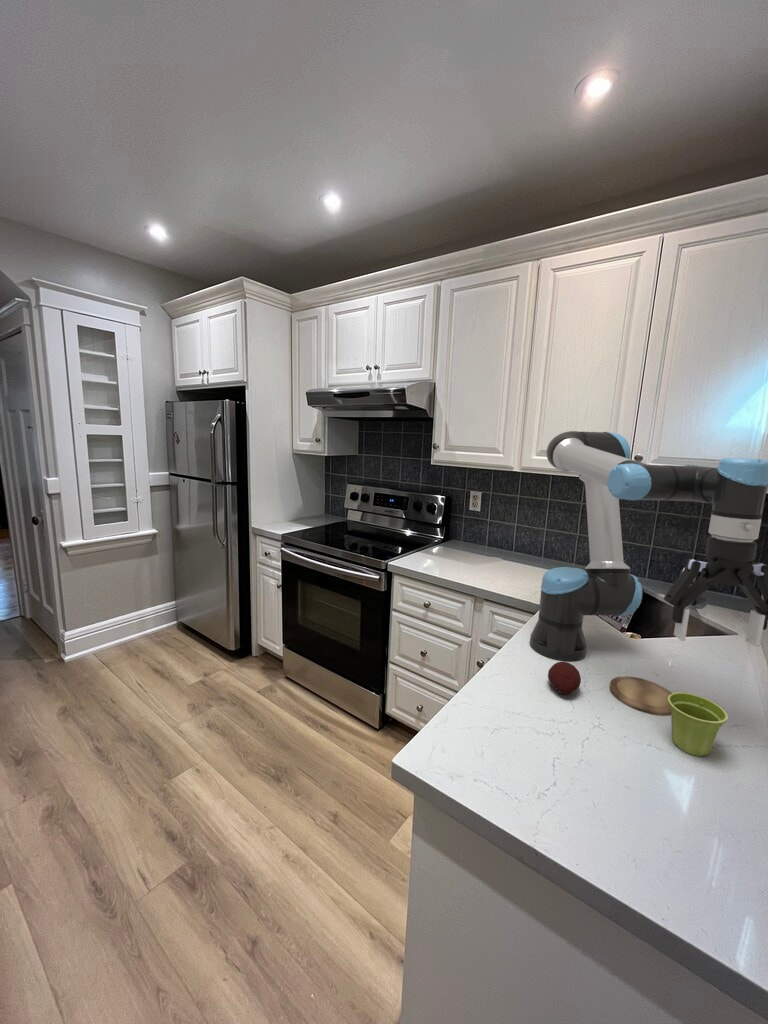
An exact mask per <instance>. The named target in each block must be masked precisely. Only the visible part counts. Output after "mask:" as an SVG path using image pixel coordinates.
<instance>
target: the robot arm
mask: <svg viewBox="0 0 768 1024" xmlns="http://www.w3.org/2000/svg"><path fill="white" fill-rule="evenodd" d="M548 443H549V444H548V445H547V448H546V458H547V461H548V463H549V464H550V465H551V466H552V467H553V468H556V470H560V471H561V472H566V473H567V472H568V473H569V472H572V473H575V474H578V478H579V480H580V481H582V482H583V483H584V488H585V500H586V515H587V517H586V518H587V532H588V533H587V534H588V547H589V548H588V549H589V563H588V564H587V566H585V569H582V568H579V567H569V566H562V567H561V566H559V567H553V568H550V569H548V570H546V571H545V572H544V574H543V577H542V580H541V584H540V599H539V600H540V601H539V610H538V619H537V622H536V624H535V625H534V627H533V630H532V631H531V633H530V638H529V645H530V648H532V649H533V651H535V652H537V653H538V654H539V655H542V656H544V657H547V658H548V659H549V658H550V659H553V660H558V661H562V662H575V661H576V662H577V661H580V660H583V659H584V658H585V657H586V655H587V642H586V638H585V634H584V629H583V622H584V621H583V620H584V617H585V616H612V617H620V616H628V615H631V614H634V613H635V612H636V611H637V609H639V607H640V605H641V603H642V600H643V588H642V583H641V582H639V581H640V580H639V578H638V577H637V576H636V575H634V574H631V573H632V572H631V567H630V566H629V565H627V564H626V563H625V562H624V551H623V549H624V548H623V539H622V538H623V537H622V524H621V512H620V500H626V501H668V502H669V501H670V502H671V501H674V502H675V501H676V502H677V501H678V502H695V503H697V502H699V503H703V504H704V503H705V504H710V505H712V509H711V515H710V521H709V527H708V533H709V537H707V540H706V545H705V546H706V547H705V559H704V561H700V560H695V559H693V558H688V559H686V563H685V568H684V569H683V570H682V572H681V573H680V575H679V576H678V578H677V579H676V580H675V582H674V583H673V584H672V585H671V587H670V588H669V590H668V592H666V593H665V595H664V597H663V599H664V601H665V602H667V603H669V604H670V605H671V606H673V609H672V616H671V619H672V621H673V622H674V623H675V624H674V632H673V636H675V637H676V638H677V639H678V640H680V642H685V641H686V637H687V631H688V623H689V619H690V618H689V617H690V609H689V608H687V607H688V606H689V605H690V604H692V603H693V602H694V601H695V600H697V598H699V597H701V595H702V594H703V593H704V592H705V593H706V591H707V590H709V588H712V587H715V586H716V585H719V586H727V585H729V586H732V587H739V589H740V590H741V591H742V592H743V594H744V595H745V596H746V598H747V599H748V601H750V603H751V604H752V605H753V607H754V608H755V610H754V609H751V610H750V613H749V619H748V625H747V629H746V630H747V631H746V636H745V642H747V643H749V644H750V645H752V646H754V647H755V648H760V647H761V641H762V636H763V632H764V631H765V630H767V629H768V565H767V564H764V563H761V562H756V563H755V564H753V562H754V561H755V559H756V554H757V548H758V543H757V541H755V540H759V534H760V529H761V524H762V518H763V511H764V506H765V500H766V495H767V491H768V460H767V459H764V458H743V457H742V458H741V457H739V458H738V457H737V458H736V457H723V458H721V459H720V461H719V463H718V466H714V467H713V466H703V465H694V464H691V465H690V464H685V465H675V464H674V465H670V464H669V465H667V464H664V465H663V464H662V465H661V464H660V465H659V464H649V463H648V464H647V463H643V462H639V461H637V460H634V459H631V453H632V451H631V446H630V444H629V442H628V440H627V439H626V437H624V435H623V436H622V435H621V434H620V433H615V432H608V431H602V432H601V431H576V430H572V431H570V430H569V431H565V432H561V433H559V434H558V435H555V436H554V437H553V438H552V440H550V442H548ZM703 570H704V572H702V571H703ZM700 572H702V573H701V574H700V575H699V576H698V574H699V573H700ZM751 574H754V577H755V580H756V583H757V585H758V588H759V590H760V593H759V592H758V591H757V590H756V588H755V587H754V586H755V585H754V584H753V582H752V581H751V580H750V578H749V576H750V575H751ZM697 576H698V577H697ZM697 578H698V579H697ZM695 579H697V580H696V581H695Z"/></svg>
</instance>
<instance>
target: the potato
mask: <svg viewBox="0 0 768 1024" xmlns="http://www.w3.org/2000/svg"><path fill="white" fill-rule="evenodd" d="M547 678H548V681H549V683H550V684H551V687H553V689H555V690H556V691H557V692H559V693H560V694H563V695H571V694H573V693H574V692H576V691H577V690H579V687H580V686H581V683H582V681H581V680H582V679H581V673H580V671H579V670H578V669H577V667H576V666H575V665H574V664H572V663H571V662H569V661H558V662H556V663H553V665H552V666H551V667H550V668H549V669H548V673H547Z"/></svg>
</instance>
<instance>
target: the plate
mask: <svg viewBox="0 0 768 1024" xmlns="http://www.w3.org/2000/svg"><path fill="white" fill-rule="evenodd" d="M609 691H610V693H611V694H612V696H613V697H614V698H615V699H617V701H619V702H621V703H622V704H623V705H625V706H628V708H629V707H630V708H632V709H633V710H636V711H638V712H643V713H644V714H649V715H655V716H672V714H671V708H670V704H669V702H668V696H669V695H670V694H672V693H673V692H672V691H670V690H669V689H668V688H666V687H664V686H662V685H660V684H658V683H656V682H654V681H650V680H648V679H645V678H640V677H637V676H636V677H635V676H629V675H628V676H625V675H624V676H622V675H621V676H616V677H614V678H612V679H611V680H610V683H609Z"/></svg>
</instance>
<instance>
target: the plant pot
mask: <svg viewBox="0 0 768 1024" xmlns="http://www.w3.org/2000/svg"><path fill="white" fill-rule="evenodd" d="M668 702H669V704H670V708H671V740H672V743H673V744H674V745H677V747H678V748H679V749H680V750H681V751H684V752H685V753H687V754H690V755H692V756H697V757H702V756H708V755H710V752H711V750H712V748H713V745H714V742H715V740H716V737H717V735H718V733H719V730H720V728H721V727H722V726H723V725H724V723H726V722H727V721H728V717H729V716H728V713H727V712H726V711H725V710H724V709H723V708H722V706H720V705H718V704H717V703H715V702H713V701H712V700H710V699H708V698H705V697H703V696H700V695H696V694H693V693H688V692H672V694H670V695H669V696H668Z"/></svg>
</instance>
